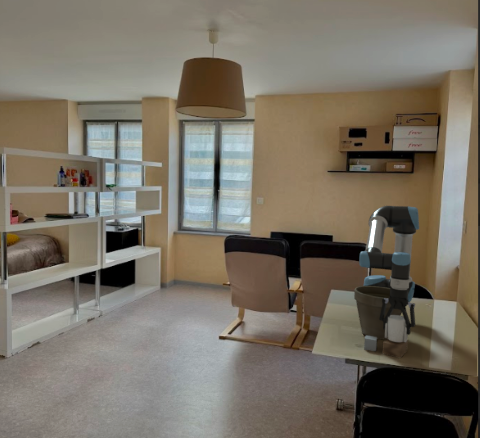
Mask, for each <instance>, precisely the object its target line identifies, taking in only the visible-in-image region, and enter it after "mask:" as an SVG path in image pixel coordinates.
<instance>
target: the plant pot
mask: <svg viewBox="0 0 480 438" xmlns="http://www.w3.org/2000/svg"><path fill="white" fill-rule="evenodd" d="M353 296H354V300H355V302H356V307H357V313H358V318H359V319H358V320H359V324H360V331H361V333H362V334H363V336H364V335H365V336H366V335H367V336H374V337H377V340H387V339H388V337H387V338H385V330H384V329H383V321H381V320H379V318H380V313H381V309H382V299H384V298H386V299H389V297H390V288H384V287H376V286H364V285H361V286H356V287H355V288H354V294H353ZM390 307H391V304H390V303H389V301H388V303H387V306H386V310H385V315H384V318H385V316H386V315H387V313H388V311H389V308H390ZM391 315H399V316H402V312H401V310H399V309H394V310H393V311H392V313H391ZM387 322H388V321H387Z"/></svg>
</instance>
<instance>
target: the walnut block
mask: <svg viewBox="0 0 480 438" xmlns="http://www.w3.org/2000/svg"><path fill="white" fill-rule="evenodd" d="M408 345H409V340H408V339H407V342H393V341H390V340H389V339H384V341H383V342H382V354H383V355H388V356H391V357H395V358H398V359H401V358H402V357H403V356H404V355H405V354H406V353H407V352H408Z"/></svg>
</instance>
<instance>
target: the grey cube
mask: <svg viewBox="0 0 480 438" xmlns="http://www.w3.org/2000/svg"><path fill="white" fill-rule="evenodd" d="M377 342H378V339H377V337H374V336H367V335H365V336H364V343H363V350H365V351H370V352H371V351H372V352H376V351H377V348H378V347H377V345H378V344H377Z"/></svg>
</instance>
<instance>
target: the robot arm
mask: <svg viewBox="0 0 480 438" xmlns="http://www.w3.org/2000/svg"><path fill="white" fill-rule="evenodd" d="M419 219H420V217H419V209H418V208H417V207H415V206H409V205H408V206H407V205H406V206H404V205H384V206H381V207H379V208H376V210H375V211H373V212H372V213H371V215H370V216H369V219H368V227H369V230H368V234H367V240H366V244H365V245H366V246H365V250H364V251H360V253H359V258H358V259H359V261H358V262H359V266H360V267H361V268H367V269H377V270H385V271H386V270H387V271H391V275H390V277H389V278H387V276H385V275H381V274H379V275H378V274H376V275H368V276H366V277H364V280H363V286H376V287H384V288H390V297H389V299H386V298H384V299H382V309H381V313H380V318H379V320H381V321H383V329H384V330H385V338H387V337H388V322H387V321H388V317H390V315H391V313H392V311H393V310H394V309H399V310H401V312H402V313H401V315H402V316H403V317H404V320H405V323H406V327H405V331H404V342H407V340H408V338H409V337H408V336H410V334H411V328H414V327H415V326H416V316H415V307H416V303H413V302H412V300H413V297H414V293H415V286H416V282H415V281H413V278H412V276H411V262H412V248H413V235H415V234H416V233H417V230H420V220H419ZM387 228H389V229H392V232H393V233H394V234H395V237H394V239H395V240H394V251H393V253H389V252H388V253H387V252H383V246H384V237H385V231H386V229H387ZM388 301H389V303H390V304H391V307H390V308H389V311H388V313H387V315H386V316H385V318H384V315H385V310H386V306H387V303H388ZM407 306H408V308H409V315H408V312H407V308H406V307H407Z"/></svg>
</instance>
